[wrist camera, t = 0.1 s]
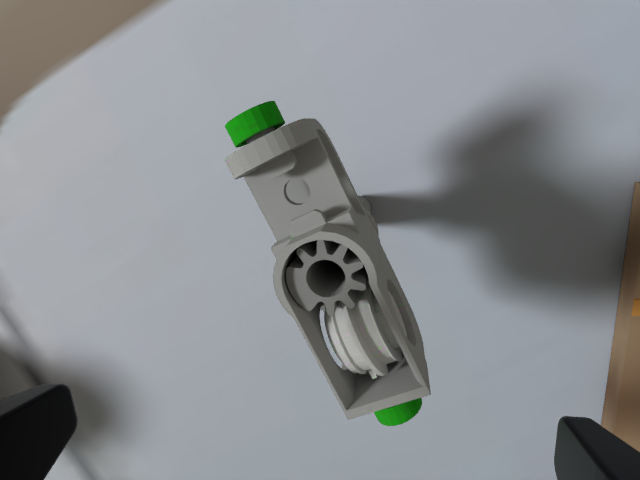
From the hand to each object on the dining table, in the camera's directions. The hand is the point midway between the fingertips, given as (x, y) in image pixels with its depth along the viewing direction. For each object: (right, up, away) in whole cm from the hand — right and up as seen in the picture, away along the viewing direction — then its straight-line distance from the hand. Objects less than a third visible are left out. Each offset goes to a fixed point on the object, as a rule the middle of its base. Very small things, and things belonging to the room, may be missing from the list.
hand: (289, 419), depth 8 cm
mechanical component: (+2, +5, +14) cm, 15 cm away
